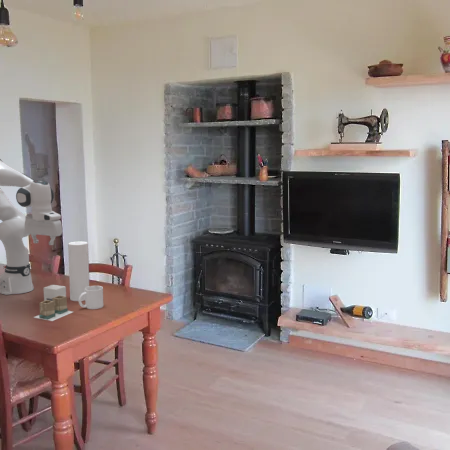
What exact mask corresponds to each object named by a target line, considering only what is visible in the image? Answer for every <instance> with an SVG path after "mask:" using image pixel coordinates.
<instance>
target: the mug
mask: <svg viewBox="0 0 450 450" xmlns="http://www.w3.org/2000/svg"><path fill="white" fill-rule="evenodd" d="M83 296H85V300H84V301H85V302H84V304H83V301H81V300H82V297H83ZM78 305H79V306H80V307H81V308H84V309H85V308H86V309H87V310H88V309H89V310H97V309H102V308H103V307H104V288H103V286H101V285H89V287H86V288H85V292H84V293H82V294H81V295H80V297H79V301H78Z"/></svg>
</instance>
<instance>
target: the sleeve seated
mask: <svg viewBox="0 0 450 450" xmlns="http://www.w3.org/2000/svg"><path fill="white" fill-rule="evenodd" d="M52 301H54V309H55V313H57V314H62V313H64V312H67V311H69V308H68V302H67V301H68V300H67V296H66V297H65V296H56V297H54V298H52Z"/></svg>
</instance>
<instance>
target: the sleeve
mask: <svg viewBox="0 0 450 450" xmlns="http://www.w3.org/2000/svg"><path fill="white" fill-rule="evenodd" d="M38 304H39V314H38V315H39V318H44V319H50V318H52V317H55V309H54V301H49V300H45V301H44V300H43V301H41V302H39V303H38ZM39 318H38V319H39ZM44 319H43V320H44Z"/></svg>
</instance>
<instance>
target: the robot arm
mask: <svg viewBox="0 0 450 450" xmlns="http://www.w3.org/2000/svg"><path fill="white" fill-rule="evenodd" d="M1 187H18V190H17V191H16V195H15V199H16V203H17V204H18V205H19V206H20V207H23V208H30V207H31V213H28V214H26V215H25V214H24V213H22V212H21V211H20V210H19V209H18V208H17V207H15V205H14V204H13V203H12V202H11V201H10V199H9V197H8V196H7V195H6V194H5V192H4V191H3V190H2V189H1ZM54 199H55V192H54V190H53V188H52V187H51V185H50V183H49V182H48V181H46V180H43V179H34V178H32V177H30V176H29V175H27V174H25V173H23V172H21V171H19V170H17V169H15V168H13V167H11V166H9V165H8V164H6V163H5V162H4V161H3V160H2V159H1V158H0V221H1V222H0V241H1V243H2V244H3V247H4V250H5V257H6V259H5V260H6V265H3V269H4V272H2V273H1V274H0V294H3V295H5V296H7V295H16V294H17V295H18V294H25V293H28V292H32V291H33V290H34V289H35V288H34V284H33V279H32V274H31V263H30V256H29V248H28V247H26V246H25V244H24V240H23V238H25V237H26V238H27V237H28V236H31V239H32V240H33V244H39V239H38V238H37V235H40V236H49V238H50V240H49V241H48V245H49V246H54V245H55V239H56V237H60V236H62V235H63V226H62V220H61V219H62V216H61V214H60V213H57V212H55V211H54V210H53V208H52V203H53V201H54Z"/></svg>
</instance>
